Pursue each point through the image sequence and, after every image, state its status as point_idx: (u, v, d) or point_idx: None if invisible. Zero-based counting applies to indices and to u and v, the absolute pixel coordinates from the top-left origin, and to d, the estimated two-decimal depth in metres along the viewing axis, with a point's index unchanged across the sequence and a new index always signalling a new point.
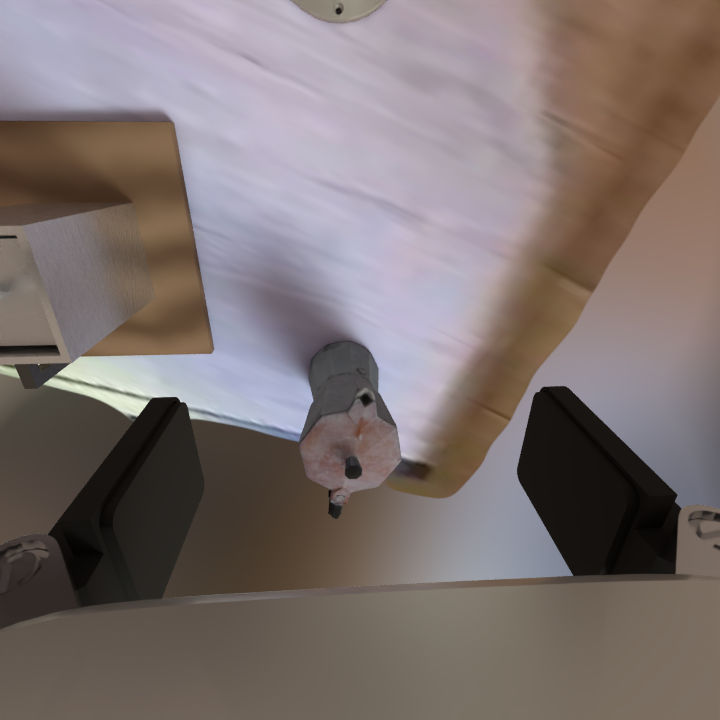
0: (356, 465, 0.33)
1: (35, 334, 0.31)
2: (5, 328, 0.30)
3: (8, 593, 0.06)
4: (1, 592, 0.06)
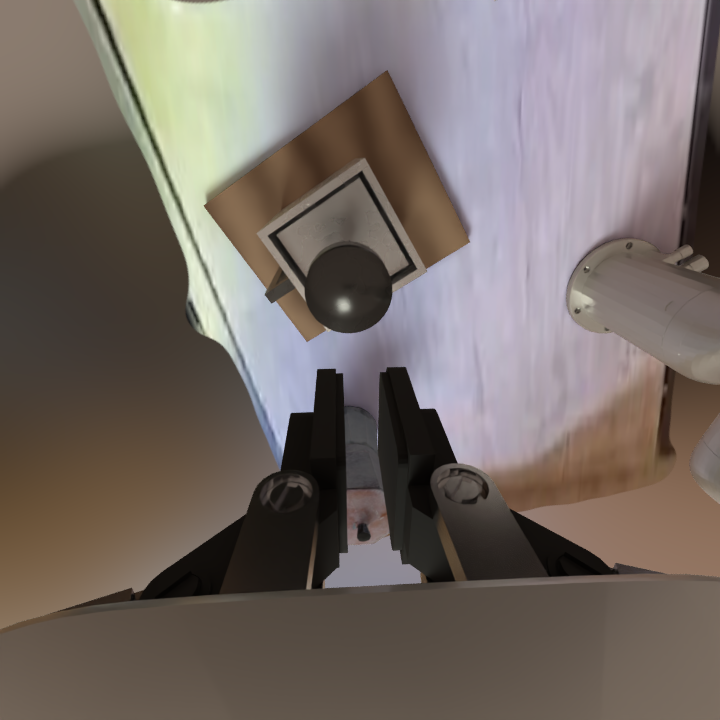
0: (370, 535, 0.44)
1: None
2: None
3: (278, 513, 0.07)
4: (275, 508, 0.07)
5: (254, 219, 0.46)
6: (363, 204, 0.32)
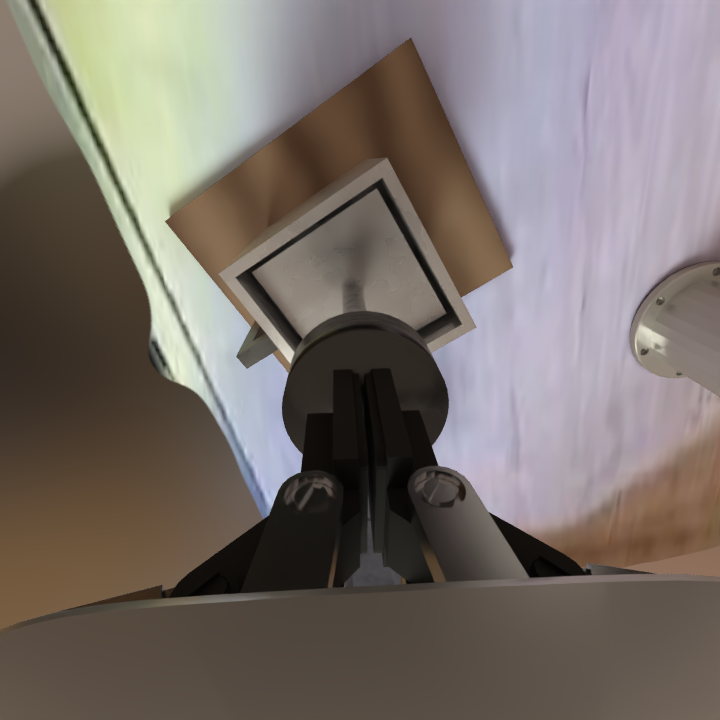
0: None
1: None
2: (316, 319, 0.23)
3: (301, 513, 0.07)
4: (299, 509, 0.07)
5: (232, 238, 0.35)
6: (382, 227, 0.21)
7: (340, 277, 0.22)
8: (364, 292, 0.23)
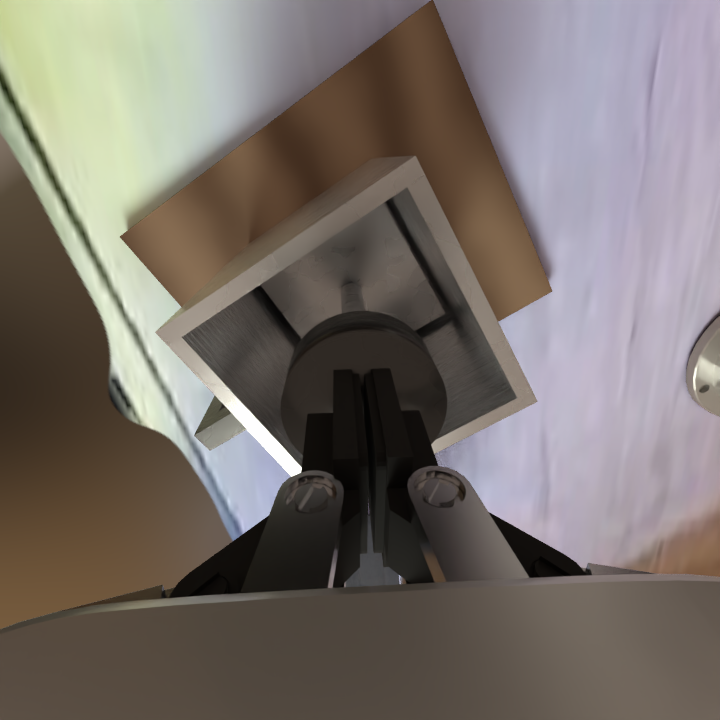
0: None
1: None
2: (315, 319, 0.23)
3: (301, 513, 0.07)
4: (299, 509, 0.07)
5: (205, 258, 0.28)
6: (380, 227, 0.21)
7: (339, 277, 0.22)
8: (363, 292, 0.23)
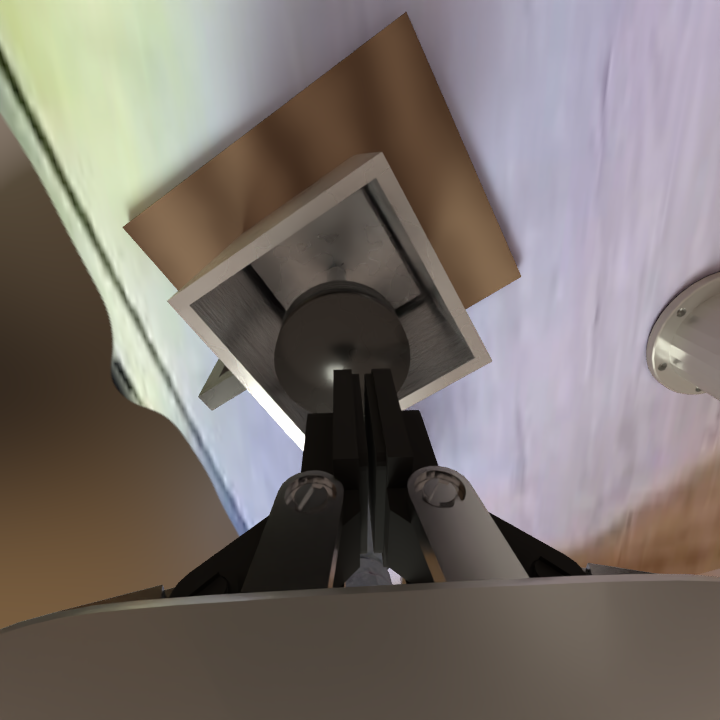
0: None
1: None
2: None
3: (301, 513, 0.07)
4: (299, 509, 0.07)
5: (202, 247, 0.30)
6: (361, 216, 0.24)
7: (325, 261, 0.25)
8: (347, 275, 0.25)
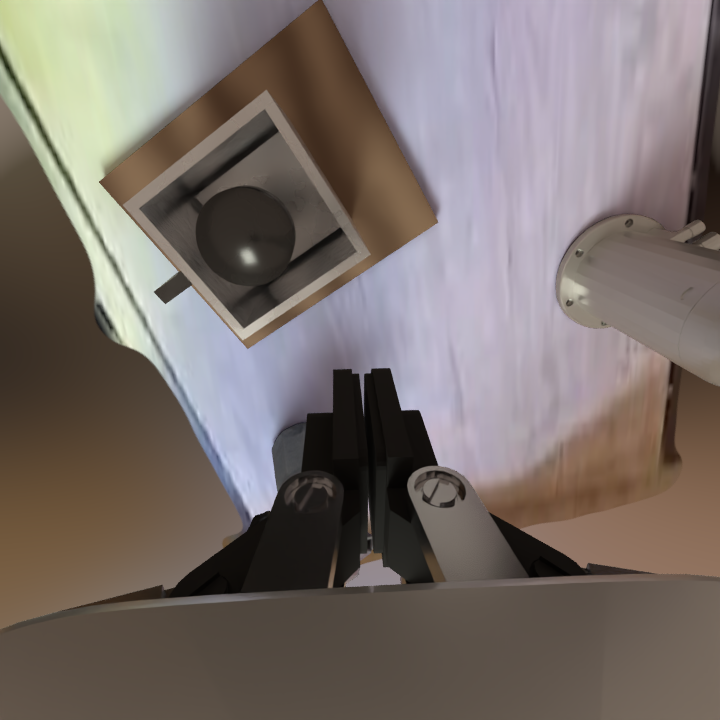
0: None
1: None
2: None
3: (301, 513, 0.07)
4: (299, 509, 0.07)
5: None
6: (286, 160, 0.30)
7: None
8: None
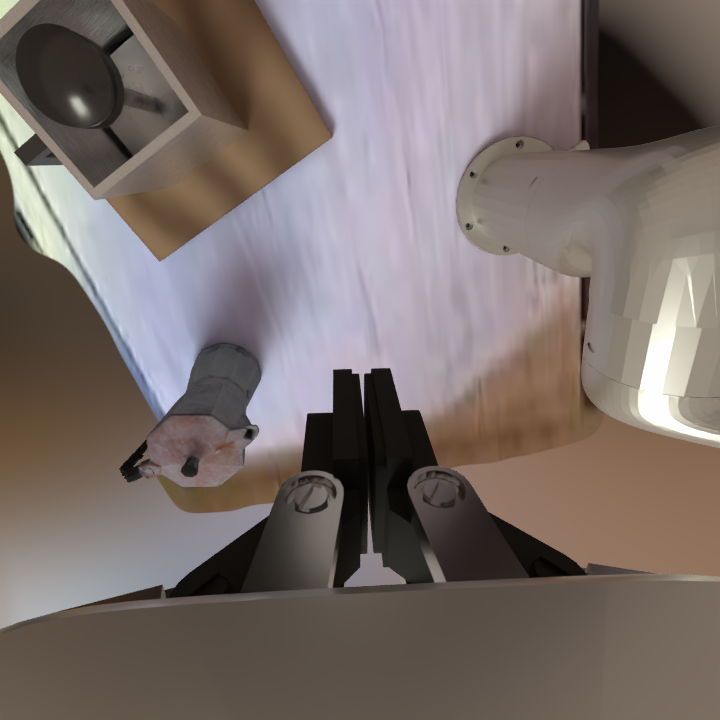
0: (197, 469, 0.37)
1: None
2: (127, 124, 0.35)
3: (301, 513, 0.07)
4: (299, 509, 0.07)
5: None
6: None
7: (137, 90, 0.34)
8: (156, 102, 0.34)
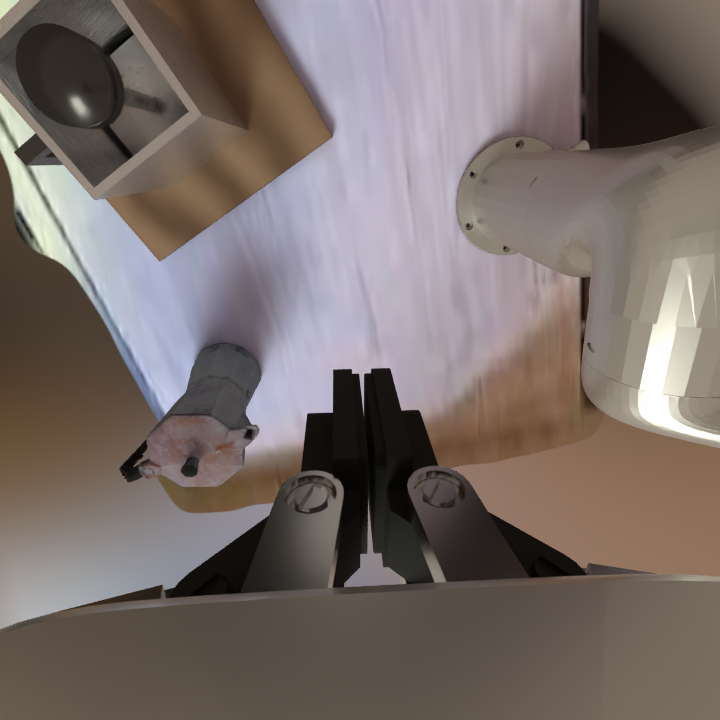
0: (197, 469, 0.37)
1: None
2: (127, 124, 0.35)
3: (301, 513, 0.07)
4: (299, 509, 0.07)
5: None
6: None
7: (137, 90, 0.34)
8: (156, 102, 0.34)
